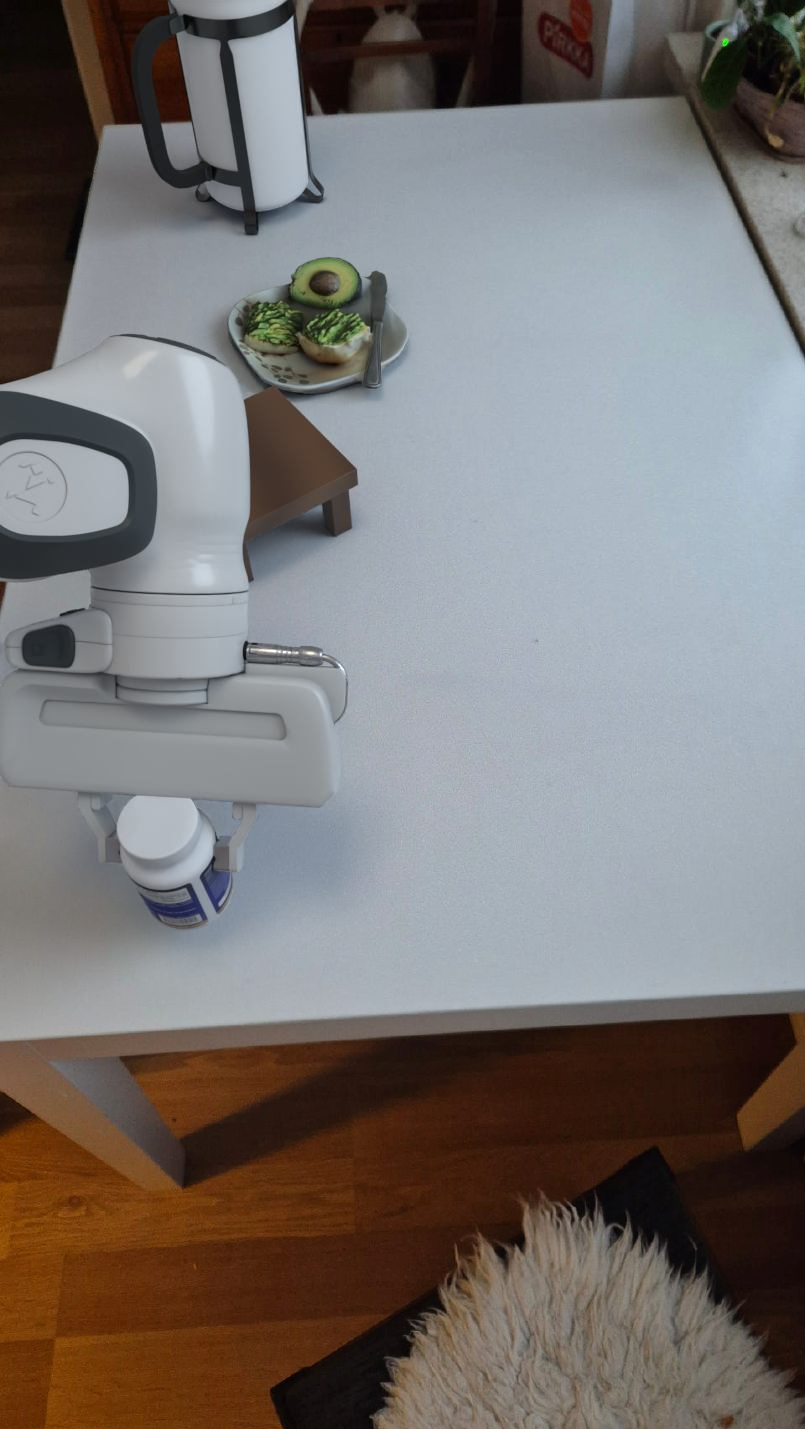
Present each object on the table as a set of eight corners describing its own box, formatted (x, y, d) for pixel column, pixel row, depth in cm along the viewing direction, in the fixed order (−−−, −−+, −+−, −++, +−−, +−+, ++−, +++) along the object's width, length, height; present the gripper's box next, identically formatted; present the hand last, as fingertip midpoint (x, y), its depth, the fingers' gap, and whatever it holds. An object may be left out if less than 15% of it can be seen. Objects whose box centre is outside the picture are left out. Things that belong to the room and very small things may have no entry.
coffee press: (204, 161, 122) (146, -155, 96) (335, 168, 120) (310, -151, 95) (166, 244, 112) (90, -81, 87) (307, 253, 111) (271, -76, 86)
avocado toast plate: (451, 377, 99) (452, 337, 95) (281, 432, 95) (275, 392, 91) (371, 272, 108) (369, 231, 105) (214, 318, 105) (206, 278, 101)
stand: (233, 597, 84) (218, 539, 78) (159, 507, 90) (141, 446, 84) (362, 529, 88) (357, 469, 82) (283, 446, 94) (274, 385, 88)
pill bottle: (198, 836, 68) (167, 760, 60) (252, 892, 66) (228, 821, 57) (129, 891, 66) (87, 820, 58) (182, 951, 64) (146, 886, 55)
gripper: (356, 641, 61) (347, 859, 63) (25, 622, 62) (31, 837, 65) (342, 656, 55) (333, 896, 57) (-25, 634, 56) (-16, 871, 59)
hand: (170, 865), depth 61 cm, fingers closed on pill bottle, 6 cm apart
